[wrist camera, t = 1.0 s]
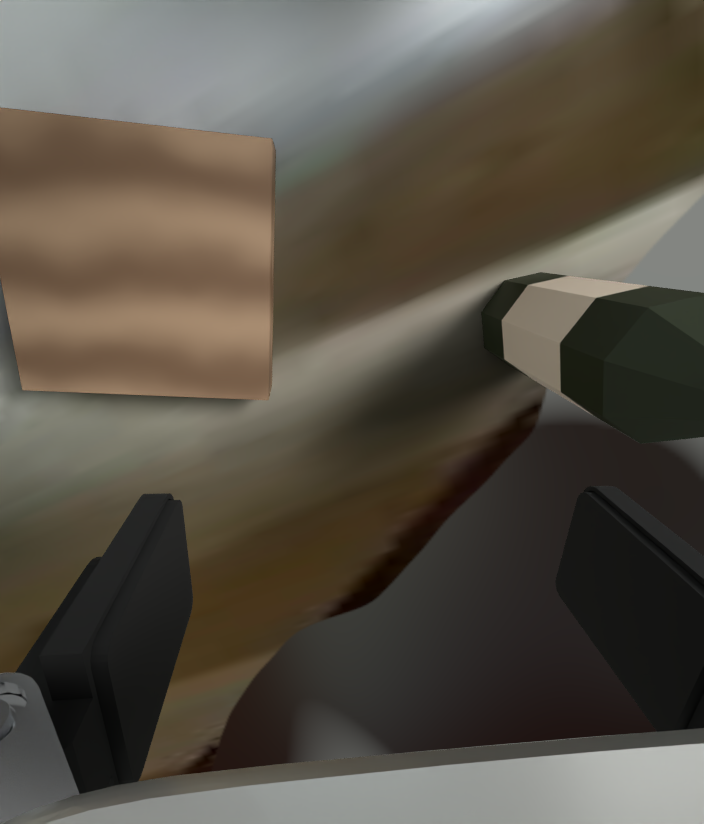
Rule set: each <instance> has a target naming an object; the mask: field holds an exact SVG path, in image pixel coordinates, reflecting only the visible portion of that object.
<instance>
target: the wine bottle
mask: <svg viewBox="0 0 704 824" xmlns="http://www.w3.org/2000/svg"><path fill="white" fill-rule="evenodd" d="M481 313H482V324H483V336H484V347H485V348H486V349H487V350H488V351H490V352H491V353H493V354H494V355H496V356H497V357H498V358H500V359H501V360H503V361H504V362H505V363H507V364H508V365H510V366H511V367H513V368H515V369H516V370H518V371H520V372H521V373H523V374H525V375H526V376H528V377H530V378H531V379H533V380H535V381H536V382H538V383H540V384H541V385H543V386H545V387H546V388H548V389H550V390H551V391H553V392H555V393H557V394H558V395H560V396H562V397H563V398H565V399H567V400H568V401H570V402H572V403H573V404H575V405H577V406H579V407H580V408H582V409H583V410H585V411H587V412H588V413H590V414H592V415H593V416H595V417H597V418H599V419H600V420H602V421H604V422H605V423H607V424H608V425H610V426H612V427H613V428H616V429H617V430H618V431H620V432H622V433H624V434H625V435H627V436H629V437H630V438H632V439H634V440H635V441H637V442H639V443H640V444H642V443H651V442H661V441H670V440H679V439H688V438H698V437H704V293H700V292H692V291H684V290H676V289H668V288H660V287H652V286H644V285H636V284H629V283H621V282H613V281H605V280H597V279H589V278H581V277H573V276H565V275H557V274H549V273H536V274H532V275H527V276H523V277H518V278H514V279H509V280H505V281H504V282H503V284H502V285H501V286H500V288H499V289H498V291H497V292H496V293H495V295H494V296H493V297H492V299H491V300H490V302H489V303H488V304H487V306H486V307H485V308H484V310H483V311H482V312H481Z"/></svg>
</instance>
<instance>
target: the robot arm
mask: <svg viewBox="0 0 704 824" xmlns="http://www.w3.org/2000/svg"><path fill="white" fill-rule="evenodd" d="M556 589H557V592H558V593H559V596H560V597H561V599H562V600H563V602H564V603H565V604H566V606H567V607H568V608H569V610H570V611H571V613H572V614H573V615H574V617H575V618H576V620H577V621H578V622H579V624H580V625H581V627H582V628H583V629H584V631H585V632H586V634H587V635H588V636H589V638H590V639H591V641H592V642H593V643H594V645H595V646H596V647H597V649H598V650H599V652H600V653H601V654H602V656H603V657H604V659H605V660H606V661H607V663H608V664H609V665H610V667H611V668H612V670H613V671H614V673H615V674H616V675H617V677H618V678H619V680H620V681H621V682H622V684H623V685H624V686H625V688H626V689H627V691H628V692H629V693H630V695H631V696H632V698H633V699H634V700H635V702H636V703H637V704H638V706H639V707H640V709H641V710H642V712H643V713H644V714H645V716H646V717H647V719H648V720H649V721H650V723H651V724H652V725H653V727H654V728H655V729H656V731H657V732H649V733H636V734H623V735H611V736H598V737H586V738H575V739H562V740H551V741H538V742H526V743H514V744H502V745H491V746H479V747H468V748H456V749H444V750H432V751H421V752H410V753H399V754H388V755H378V756H367V757H355V758H344V759H334V760H323V761H311V762H301V763H289V764H278V765H269V766H261V767H251V768H242V769H233V770H225V771H215V772H206V773H196V774H187V775H178V776H171V777H164V778H158V779H152V780H146V781H139V782H138V780H139V778H140V777H141V774H142V771H143V768H144V765H145V761H146V758H147V755H148V751H149V748H150V745H151V742H152V738H153V735H154V732H155V729H156V725H157V722H158V719H159V715H160V712H161V709H162V706H163V702H164V699H165V696H166V693H167V689H168V686H169V683H170V679H171V676H172V673H173V670H174V666H175V663H176V660H177V657H178V653H179V650H180V647H181V643H182V640H183V637H184V634H185V630H186V627H187V624H188V621H189V617H190V614H191V610H192V602H193V594H192V585H191V576H190V568H189V559H188V550H187V542H186V533H185V524H184V516H183V507H182V502H181V501H180V500H174V499H173V496H172V495H171V494H143V495H142V496H141V497H140V499H139V500H138V502H137V503H136V505H135V506H134V508H133V510H132V511H131V513H130V514H129V516H128V517H127V519H126V520H125V522H124V524H123V525H122V527H121V528H120V530H119V531H118V533H117V535H116V536H115V538H114V539H113V541H112V542H111V544H110V545H109V547H108V549H107V550H106V552H105V553H104V555H103V556H102V557H96V558H94V559H92V560H91V561H90V563H89V564H88V565H87V566H86V568H85V569H84V571H83V572H82V574H81V575H80V577H79V578H78V580H77V581H76V583H75V584H74V586H73V587H72V589H71V590H70V592H69V593H68V595H67V596H66V598H65V599H64V601H63V602H62V604H61V605H60V607H59V608H58V610H57V611H56V613H55V614H54V616H53V617H52V619H51V620H50V622H49V623H48V625H47V626H46V627H45V629H44V630H43V632H42V633H41V635H40V636H39V638H38V639H37V641H36V642H35V644H34V645H33V647H32V648H31V650H30V651H29V653H28V654H27V656H26V657H25V659H24V660H23V662H22V663H21V665H20V666H19V668H18V669H17V671H16V672H15V673H2V674H0V824H704V556H703V555H701V554H700V553H699V552H698V551H696V550H695V549H694V548H693V547H691V546H690V545H689V544H687V543H686V542H685V541H684V540H682V539H681V538H680V537H679V536H677V535H676V534H675V533H673V532H672V531H671V530H670V529H669V528H667V527H666V526H665V525H663V524H662V523H661V522H659V521H658V520H657V519H656V518H655V517H653V516H652V515H651V514H650V513H648V512H647V511H646V510H644V509H643V508H642V507H641V506H639V505H638V504H637V503H636V502H634V501H633V500H632V499H631V498H629V497H628V496H627V495H625V494H624V493H623V492H622V491H620V490H619V489H618V488H616V487H614V486H590V487H587V488H586V489H585V490H584V492H583V493H581V494H580V495H579V496H578V498H577V502H576V506H575V510H574V513H573V517H572V521H571V525H570V528H569V532H568V536H567V540H566V543H565V547H564V551H563V555H562V558H561V562H560V566H559V570H558V573H557V577H556Z"/></svg>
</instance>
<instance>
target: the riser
mask: <svg viewBox="0 0 704 824" xmlns="http://www.w3.org/2000/svg"><path fill="white" fill-rule="evenodd" d="M275 164H276V150H275V147H274V143H273V140H272V139H271V138H262V137H253V136H244V135H236V134H227V133H218V132H210V131H201V130H192V129H183V128H175V127H166V126H157V125H149V124H140V123H131V122H122V121H114V120H105V119H96V118H88V117H79V116H70V115H62V114H53V113H44V112H35V111H27V110H18V109H9V108H1V107H0V279H1V284H2V289H3V294H4V299H5V304H6V309H7V315H8V320H9V325H10V330H11V335H12V340H13V345H14V350H15V355H16V360H17V365H18V370H19V376H20V381H21V386H22V390H32V391H56V392H81V393H105V394H129V395H154V396H178V397H203V398H227V399H251V400H269V396H270V391H271V387H272V349H273V288H274V226H275Z"/></svg>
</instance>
